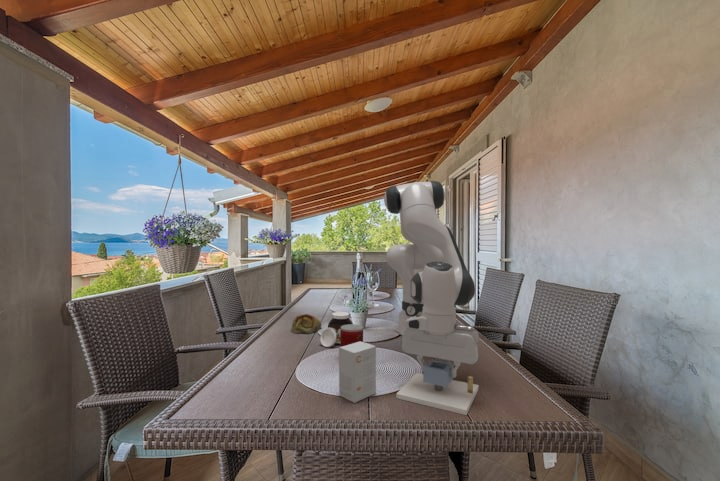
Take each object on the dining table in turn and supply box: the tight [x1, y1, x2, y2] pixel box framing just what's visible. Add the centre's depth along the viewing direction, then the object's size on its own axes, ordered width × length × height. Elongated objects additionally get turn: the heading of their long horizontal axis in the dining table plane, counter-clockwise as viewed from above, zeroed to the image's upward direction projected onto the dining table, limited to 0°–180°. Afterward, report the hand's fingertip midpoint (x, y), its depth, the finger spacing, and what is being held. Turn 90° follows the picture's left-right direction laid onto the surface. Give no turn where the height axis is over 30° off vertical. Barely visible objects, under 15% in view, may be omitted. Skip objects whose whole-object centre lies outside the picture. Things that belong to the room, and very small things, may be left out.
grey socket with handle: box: [422, 359, 454, 387], centre depth 97 cm, size 12×6×5 cm, turn 151°
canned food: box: [339, 323, 364, 347], centre depth 121 cm, size 8×8×11 cm
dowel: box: [467, 375, 474, 393], centre depth 93 cm, size 1×1×4 cm
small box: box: [338, 341, 377, 404], centre depth 94 cm, size 8×6×13 cm
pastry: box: [291, 313, 322, 335], centre depth 157 cm, size 14×12×8 cm
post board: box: [396, 367, 479, 416], centre depth 94 cm, size 16×18×7 cm
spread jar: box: [320, 311, 354, 348], centre depth 137 cm, size 12×11×12 cm
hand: (438, 373), depth 94 cm, fingers closed on grey socket with handle, 6 cm apart
